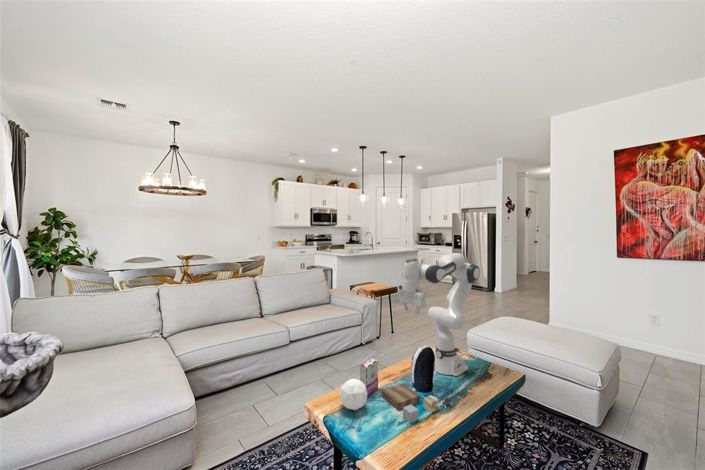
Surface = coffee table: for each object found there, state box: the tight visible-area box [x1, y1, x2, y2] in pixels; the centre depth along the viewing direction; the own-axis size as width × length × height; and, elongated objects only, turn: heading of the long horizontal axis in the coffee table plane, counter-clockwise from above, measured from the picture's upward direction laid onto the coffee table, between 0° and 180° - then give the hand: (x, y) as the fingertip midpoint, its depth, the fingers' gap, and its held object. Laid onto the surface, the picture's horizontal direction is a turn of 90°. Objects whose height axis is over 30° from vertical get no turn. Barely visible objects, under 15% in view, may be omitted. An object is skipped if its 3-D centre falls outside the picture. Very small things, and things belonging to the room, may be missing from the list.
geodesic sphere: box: [339, 378, 368, 411], centre depth 149 cm, size 15×14×14 cm
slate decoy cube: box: [402, 405, 419, 424], centre depth 141 cm, size 5×5×5 cm
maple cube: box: [423, 394, 439, 414], centre depth 149 cm, size 5×5×5 cm
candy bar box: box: [359, 357, 379, 398], centre depth 165 cm, size 11×5×16 cm, turn 143°
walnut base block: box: [381, 383, 421, 411], centre depth 157 cm, size 14×14×4 cm
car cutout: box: [440, 395, 468, 409], centre depth 154 cm, size 15×7×4 cm, turn 121°
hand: (411, 312), depth 170 cm, fingers open, 8 cm apart
